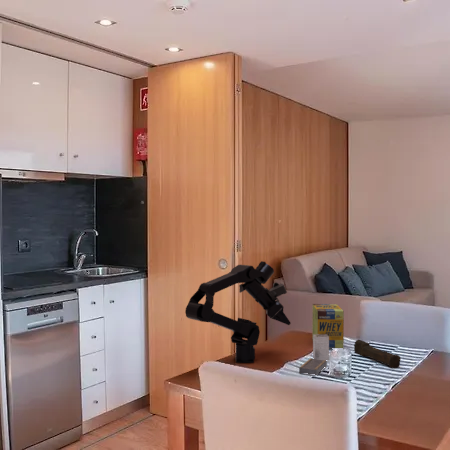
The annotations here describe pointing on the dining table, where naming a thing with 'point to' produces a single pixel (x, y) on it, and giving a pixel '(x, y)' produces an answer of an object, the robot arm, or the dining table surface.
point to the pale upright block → (321, 346)
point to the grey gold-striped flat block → (313, 366)
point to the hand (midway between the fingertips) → (288, 321)
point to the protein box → (329, 323)
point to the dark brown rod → (376, 354)
